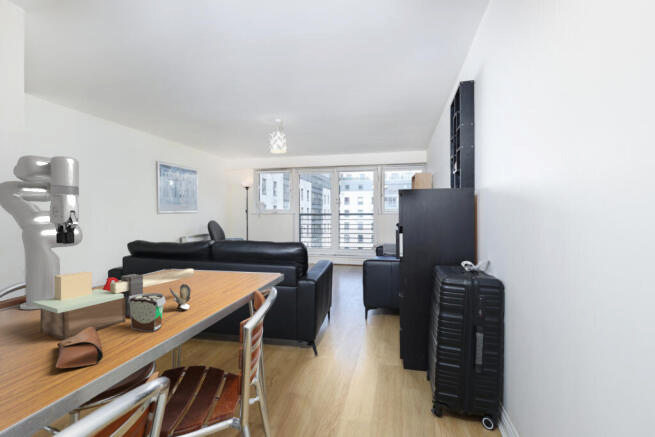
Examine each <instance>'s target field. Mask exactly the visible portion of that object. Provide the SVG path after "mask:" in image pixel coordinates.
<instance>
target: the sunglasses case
mask: <svg viewBox="0 0 655 437" xmlns="http://www.w3.org/2000/svg"><path fill="white" fill-rule="evenodd" d="M57 347H58V356H57V360H56V363H55V369H75V368H81V367H86V366H92V365H96V364H98V363H99V362H100V361H101V360H103V356H104V353H103V347H102V342H101V340H100V336H99V333H98V331H96V330H95V328H94V327H89V328H87V329H85V330H83V331H82V332H80V333H78V334H77V335H75V336H72V337H70V338H68V339H65V340H61V341H59V342H57Z"/></svg>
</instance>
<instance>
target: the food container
mask: <svg viewBox="0 0 655 437" xmlns="http://www.w3.org/2000/svg"><path fill="white" fill-rule="evenodd" d="M164 295H165V294H163V293H160V292H159V293H158V292H156V293H155V292H150V293H149V292H148V293H146V292H145V293H143V294H138V295H133V296H129V299H128V303H130V315H131V319H130V326H131V330H132V329H133V330H137V331H144V332H147V333H148V332H149V333H156V332H158V331H160V330H161V328H162V323H163V322H162V320H163V313H164V312H163V311H164V304H166V297H165V296H164Z"/></svg>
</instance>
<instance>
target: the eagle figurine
mask: <svg viewBox="0 0 655 437" xmlns="http://www.w3.org/2000/svg"><path fill="white" fill-rule="evenodd" d="M169 291H170V293H171V294H172V296H173V297H174V298H173V299H172V301H174V302H175V303H177V307H176V308H175V310H174V311H175V312H177V311H180V312H182V310H186V311H187V310H188V309H190V305H189V304H187V303H188V302H190V300H191V291H192V290H191V287H190V286H189V285H188V284H184V283H183V284H181V286H179V294H178V292H177V291H174V290H172V288H171V287H169Z"/></svg>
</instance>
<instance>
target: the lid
mask: <svg viewBox="0 0 655 437" xmlns="http://www.w3.org/2000/svg"><path fill="white" fill-rule="evenodd" d="M92 276H93V272H90V271H80V272H74V273H67V274H60V275H58V276H55V298H49V299H44V300H39V301H34V302H33V306H35V307H38V308H42V309H45V310H48V311H51V312H55V313H61V312H65V311H70V310H74V309H78V308H82V307H87V306H91V305H95V304H99V303H104V302H108V301H112V300H116V299H121V298H124V294H121V293H112V292H110V291H106V290H103V289H100V288H96V289H93V278H92Z"/></svg>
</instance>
